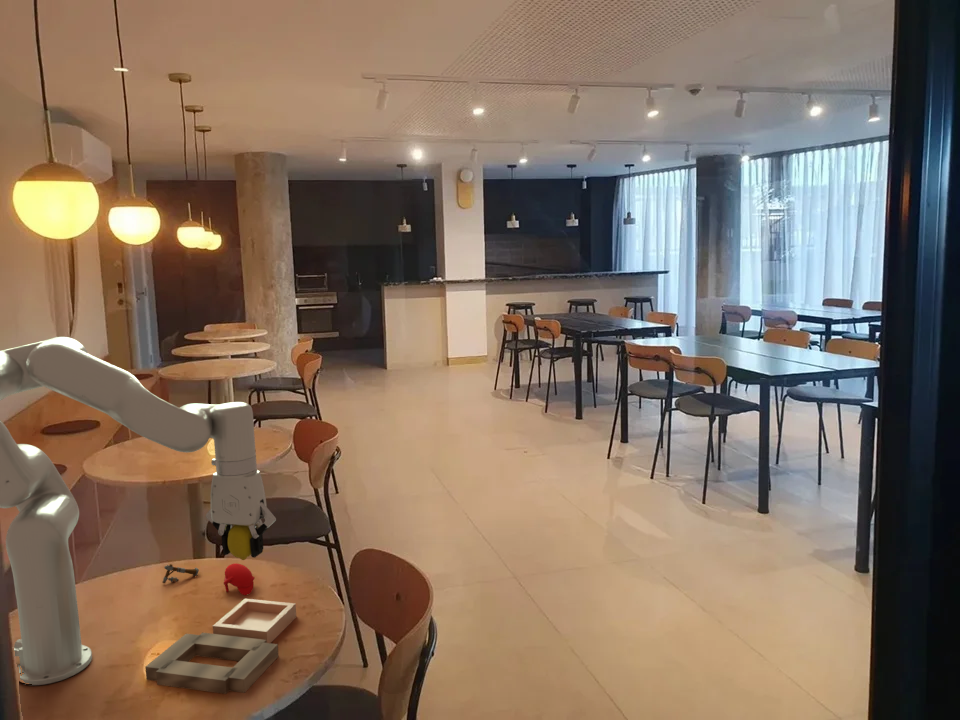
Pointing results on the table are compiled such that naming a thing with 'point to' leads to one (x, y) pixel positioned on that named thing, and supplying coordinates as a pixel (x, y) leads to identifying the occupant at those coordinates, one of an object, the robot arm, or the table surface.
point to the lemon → (239, 541)
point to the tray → (256, 619)
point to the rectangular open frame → (212, 678)
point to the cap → (239, 578)
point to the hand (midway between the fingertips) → (243, 552)
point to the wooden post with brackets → (180, 570)
